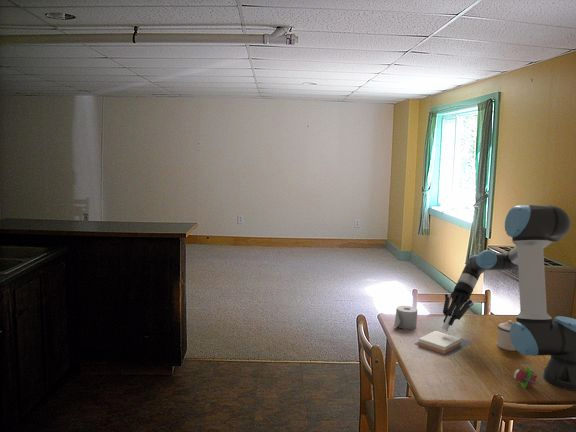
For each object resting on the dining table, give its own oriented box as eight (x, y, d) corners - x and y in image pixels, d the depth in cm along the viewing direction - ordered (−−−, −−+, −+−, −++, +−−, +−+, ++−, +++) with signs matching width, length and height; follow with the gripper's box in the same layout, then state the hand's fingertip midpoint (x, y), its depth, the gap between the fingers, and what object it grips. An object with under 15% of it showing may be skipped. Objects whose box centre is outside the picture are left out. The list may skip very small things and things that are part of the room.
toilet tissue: (391, 330, 229) (392, 312, 228) (399, 321, 241) (400, 304, 240) (411, 334, 225) (412, 315, 224) (417, 325, 237) (419, 307, 236)
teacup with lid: (519, 352, 207) (521, 326, 205) (495, 348, 211) (497, 322, 209) (519, 343, 218) (521, 317, 216) (497, 339, 222) (499, 314, 220)
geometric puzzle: (535, 376, 181) (523, 359, 180) (545, 385, 174) (533, 367, 173) (518, 387, 181) (507, 370, 180) (528, 396, 174) (516, 379, 173)
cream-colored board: (435, 330, 221) (418, 338, 211) (461, 338, 212) (444, 346, 203) (435, 337, 221) (418, 345, 211) (460, 345, 213) (444, 353, 203)
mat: (439, 332, 228) (439, 331, 228) (473, 342, 217) (473, 341, 217) (413, 344, 213) (413, 343, 213) (448, 356, 201) (448, 355, 201)
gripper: (481, 293, 221) (461, 339, 212) (454, 287, 230) (433, 330, 221) (477, 284, 217) (455, 330, 207) (449, 278, 226) (427, 321, 217)
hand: (444, 330), depth 214 cm, fingers closed
